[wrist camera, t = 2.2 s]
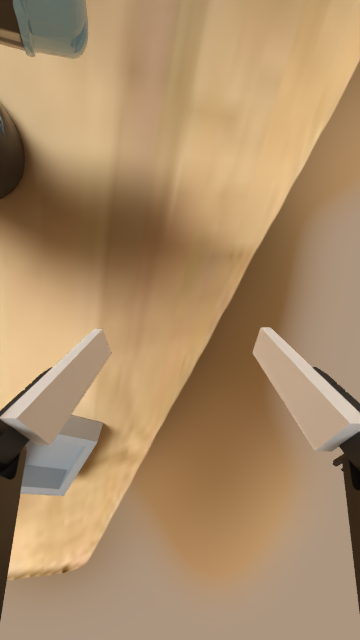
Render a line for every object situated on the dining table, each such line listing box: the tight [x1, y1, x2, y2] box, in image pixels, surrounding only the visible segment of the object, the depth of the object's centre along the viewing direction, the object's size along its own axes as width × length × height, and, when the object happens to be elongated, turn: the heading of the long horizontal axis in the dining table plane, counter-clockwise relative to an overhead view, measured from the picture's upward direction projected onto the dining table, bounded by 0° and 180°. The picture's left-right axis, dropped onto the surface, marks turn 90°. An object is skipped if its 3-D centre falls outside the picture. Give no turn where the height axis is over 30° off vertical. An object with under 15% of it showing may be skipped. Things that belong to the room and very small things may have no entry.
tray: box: [20, 415, 103, 496], centre depth 26 cm, size 13×13×4 cm
